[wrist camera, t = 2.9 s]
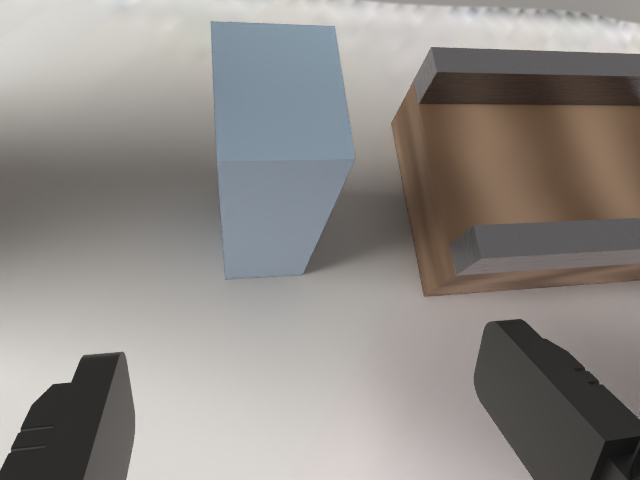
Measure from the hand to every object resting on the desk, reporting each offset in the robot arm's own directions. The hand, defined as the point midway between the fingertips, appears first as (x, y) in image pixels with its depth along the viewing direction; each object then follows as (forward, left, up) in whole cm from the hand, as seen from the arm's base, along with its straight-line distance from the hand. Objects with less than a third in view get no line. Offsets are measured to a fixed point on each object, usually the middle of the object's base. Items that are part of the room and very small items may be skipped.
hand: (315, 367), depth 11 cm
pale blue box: (-5, +6, -13) cm, 16 cm away
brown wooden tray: (+6, +17, -13) cm, 23 cm away
